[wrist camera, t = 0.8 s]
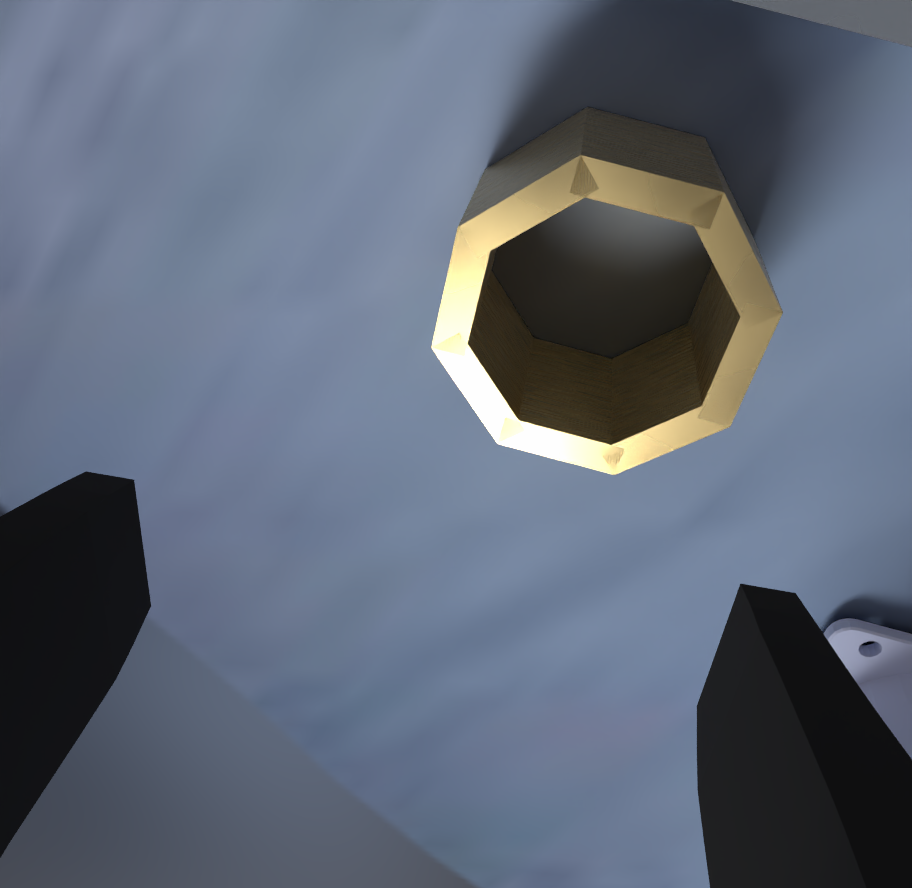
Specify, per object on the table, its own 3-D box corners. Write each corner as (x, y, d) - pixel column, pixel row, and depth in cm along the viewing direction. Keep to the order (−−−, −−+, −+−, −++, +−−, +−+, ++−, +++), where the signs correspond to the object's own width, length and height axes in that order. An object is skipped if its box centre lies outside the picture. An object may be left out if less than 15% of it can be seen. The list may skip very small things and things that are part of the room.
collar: (788, 159, 16) (825, 218, 13) (685, 404, 19) (697, 497, 16) (504, 85, 16) (479, 128, 13) (445, 340, 19) (415, 421, 16)
